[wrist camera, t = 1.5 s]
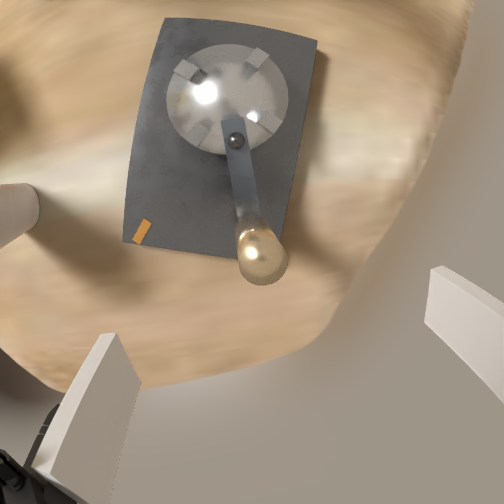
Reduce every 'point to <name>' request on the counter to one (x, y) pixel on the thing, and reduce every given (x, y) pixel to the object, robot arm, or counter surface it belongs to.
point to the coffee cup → (17, 211)
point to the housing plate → (204, 163)
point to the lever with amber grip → (234, 135)
